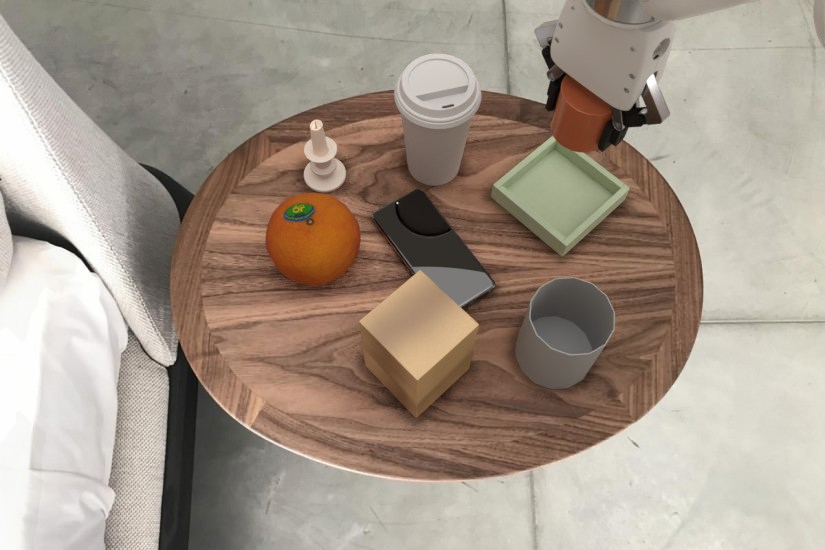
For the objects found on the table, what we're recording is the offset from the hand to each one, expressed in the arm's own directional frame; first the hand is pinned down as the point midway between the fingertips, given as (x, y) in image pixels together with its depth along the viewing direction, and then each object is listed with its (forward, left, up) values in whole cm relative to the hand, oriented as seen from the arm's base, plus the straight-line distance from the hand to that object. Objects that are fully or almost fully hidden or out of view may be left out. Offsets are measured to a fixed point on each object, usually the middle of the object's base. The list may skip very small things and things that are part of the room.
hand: (582, 121), depth 75 cm
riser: (-4, +28, -14) cm, 31 cm away
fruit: (+14, +27, -15) cm, 33 cm away
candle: (+22, +19, -15) cm, 32 cm away
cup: (-13, +16, -15) cm, 25 cm away
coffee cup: (+14, +8, -15) cm, 22 cm away
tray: (0, 0, -14) cm, 14 cm away
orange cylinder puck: (0, 0, -1) cm, 1 cm away
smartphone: (+5, +17, -14) cm, 22 cm away
